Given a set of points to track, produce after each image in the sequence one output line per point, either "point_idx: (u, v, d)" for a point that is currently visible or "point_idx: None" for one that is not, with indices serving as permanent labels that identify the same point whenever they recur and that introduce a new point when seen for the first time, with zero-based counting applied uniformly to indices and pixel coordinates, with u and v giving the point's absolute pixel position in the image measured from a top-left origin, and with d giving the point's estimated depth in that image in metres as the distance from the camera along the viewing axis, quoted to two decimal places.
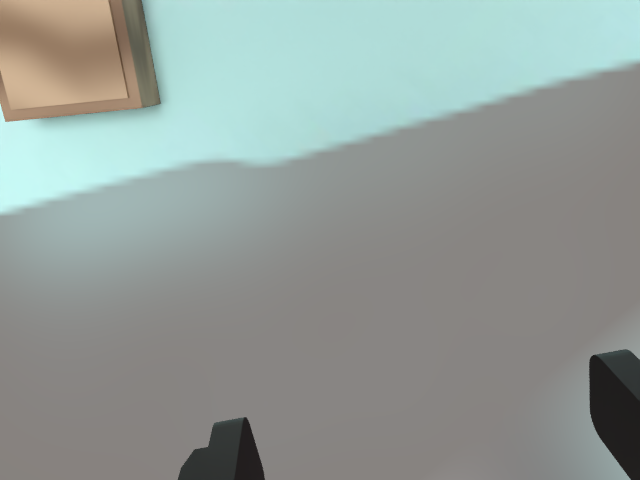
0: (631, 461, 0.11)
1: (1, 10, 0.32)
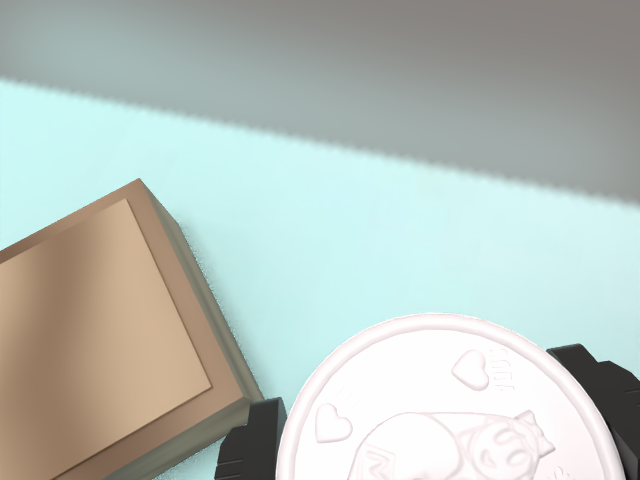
0: None
1: (88, 245, 0.19)
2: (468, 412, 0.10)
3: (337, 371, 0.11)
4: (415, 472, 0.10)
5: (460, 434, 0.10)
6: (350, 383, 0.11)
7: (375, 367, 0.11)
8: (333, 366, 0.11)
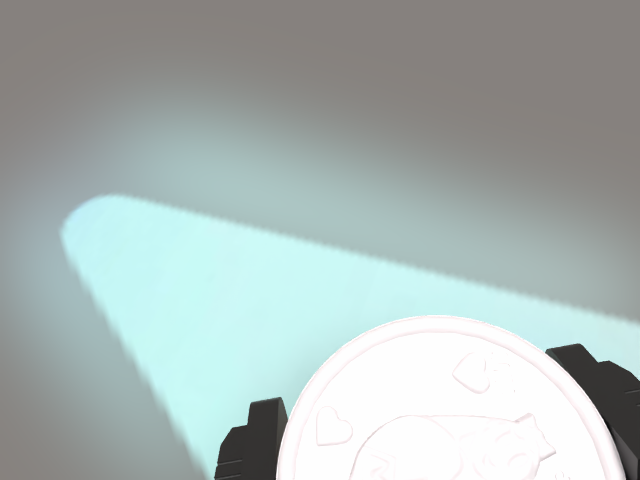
0: None
1: None
2: (469, 415, 0.10)
3: (338, 374, 0.11)
4: (416, 475, 0.10)
5: (461, 437, 0.10)
6: (351, 386, 0.11)
7: (376, 369, 0.11)
8: (334, 369, 0.11)
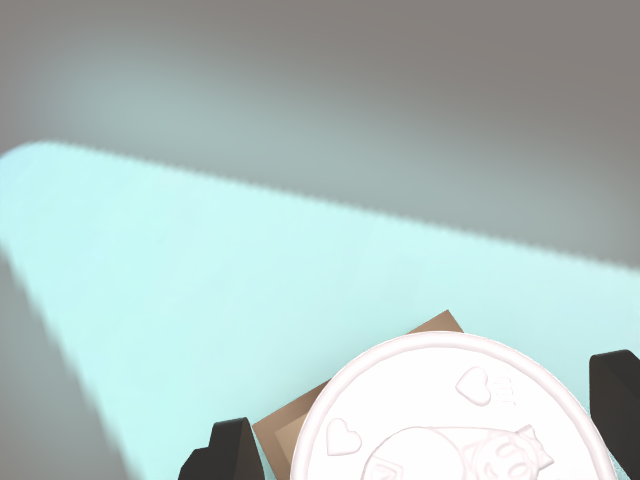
0: (631, 461, 0.11)
1: None
2: (471, 427, 0.11)
3: (347, 387, 0.11)
4: None
5: (464, 448, 0.10)
6: (359, 398, 0.11)
7: (383, 383, 0.11)
8: (343, 382, 0.11)
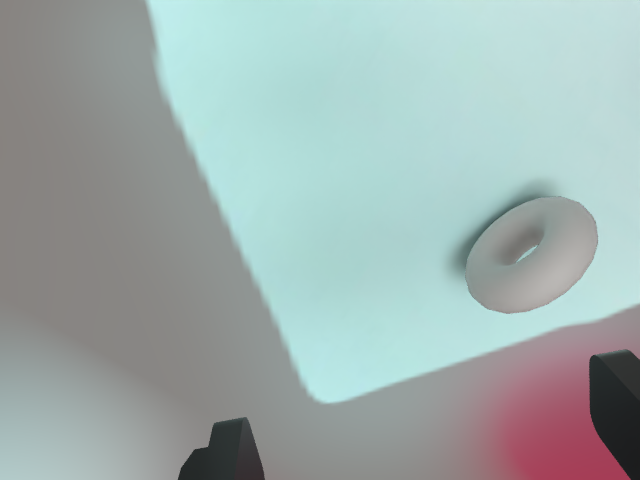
0: (631, 461, 0.11)
1: None
2: None
3: None
4: None
5: None
6: None
7: None
8: None
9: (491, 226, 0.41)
